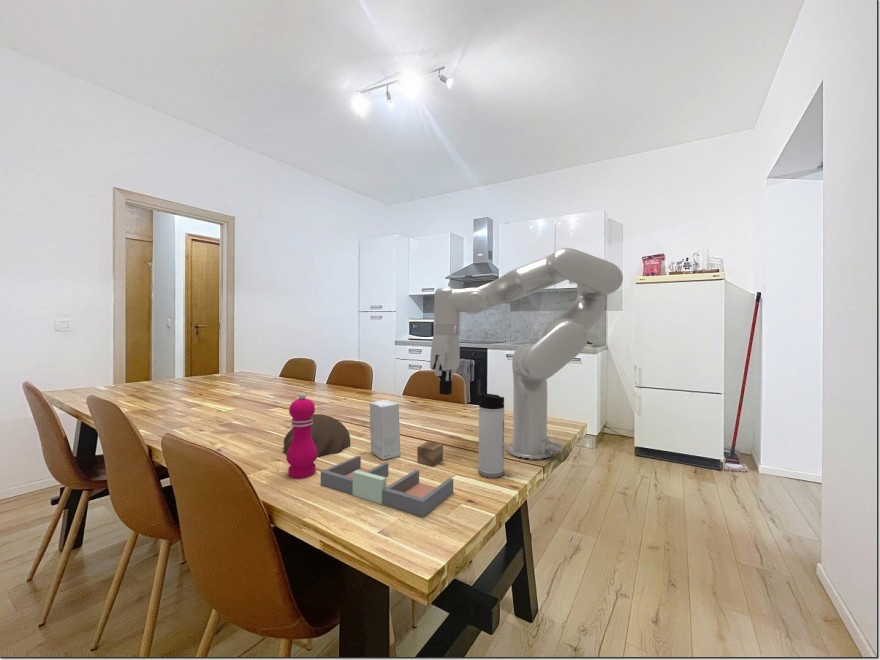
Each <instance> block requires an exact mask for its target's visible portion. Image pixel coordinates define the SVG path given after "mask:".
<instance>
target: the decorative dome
mask: <svg viewBox="0 0 880 660" xmlns="http://www.w3.org/2000/svg"><path fill="white" fill-rule="evenodd" d="M312 418H313V421H312V422H313V424H312V425H311V436H312V439H313V441H314V443H315V445H316V448H317V454H318V456H317V457H319V458H322V457H325V456H330V454H331V455H337V454H340V453H341V452H342V451H343V450H345V448H346V449H348V447H349V448H350V447H351V436H350V433H349V431H348V429H347V428H346V426H345V425H344V424H343V423H342V422H341V421H339V420H338V419H337V418H335V417H332V416H330V415H325V414H321V413H320V414H319V413H314V414H313V415H312ZM293 432H294V430H293V427H292V428H291V429H290V430H289V431H288V432H287V434H286V435H285V437H284V438H283V447H284V449H283V451H282V454H283V453H285V454H284V455H287V451H288V448H289V446H290V444H291V442H292V439H293ZM321 456H322V457H321Z"/></svg>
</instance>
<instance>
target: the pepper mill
mask: <svg viewBox="0 0 880 660" xmlns="http://www.w3.org/2000/svg"><path fill="white" fill-rule="evenodd" d="M297 396H298V399H295V400H294V401H292V403H290V405H289V408H288V413H289V416H290V417H291V418H292V419H291V424H290V425H291V426H292V428H293V430H294V432H293V439H292V442H291V444H290V446H289V448H288V451H287V454H286V457H285V459H286V462H287V464H289V465H290V466H289V467H288V468H287V469H288V471H287V472H288V477H289V478H291V479H304V477H305V478H309V477H311V476H313V475H315V474H316V463H314V462H316V461H317V459H318V458H317V456H318V454H317V448H316V445H315V443H314V441H313V439H312V436H311V425H312V424H313V422H312V421H313V418H312V415H314V414H315V412H316V406H315V403H314V401H312V400H311V399H308V398H307V395H306V392H300V393H299V394H298V395H297ZM308 476H309V477H308Z"/></svg>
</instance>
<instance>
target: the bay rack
mask: <svg viewBox="0 0 880 660" xmlns="http://www.w3.org/2000/svg"><path fill="white" fill-rule="evenodd" d="M361 457H362V456H360V455H356V456H353V457H351V458H349V459H347V460H344V461H342V462H339V463H338V464H336V465H333V466H331V467H329V468H326V469H323V470H321V471H320V486H323V487H327V488H330V489H332V490H336V491H339V492H342V493H346V494H349V495H352V496H354V497H358V498H360V499H364V500H367V501H370V502H372V503H376V504H380V505H383V506H386V507H389V508H392V509H395V510H399V511H403V512H405V513H408V514H411V515H415V516H419V517H421V518H424V517H425V516H427V515H428V514H429V513H431V512H432V510H434V509H435V508H436V507H438V506H439V505H441V503H443V502H444V501H445V500H446V499H448V498H449V496H451V495H452V494H453V493H454V478H452V477H449V478H447V479H446V480H445V481H443V482H442V483H440V484H439V485H438V486H434V485H430V484H427V483H422V482H420V470H418V469H414V470H413V471H411V472H409V473H407V474H406V475H404V476H402V477H401V478H400V479H397V480H395V482H393V483H391V484H389V485H388V486H387V477H388V476H389V462H382V463H381V464H378V465H377V466H375V467H372V469H368V468H365V467H361V465H362V463H361V459H362V458H361Z"/></svg>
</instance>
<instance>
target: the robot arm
mask: <svg viewBox="0 0 880 660" xmlns="http://www.w3.org/2000/svg"><path fill="white" fill-rule="evenodd" d="M623 275H624V274H623V273H622V270H621V269H620V268H619V266H617V265H616V264H614V263H613V262H611V261H608V260H605V259H603V258H600V257H598V256H594V255H593V254H589V253H587V252H585V251H582V250H578V249H575V248H571V247H562V248H559V249H557V250H556V251H554V252H552V253H551V254H549V255H547V256H544V257H542V258H539V259H537V260H534V261H532V262H530V263H527V264H525V265H522V266H518V267H516V268H514V269H512V270H510V271H509V272H506V273H505V274H504V275H502V276H500V277H498V278H497V279H495V280H493V281H490V282H488V283H486V284H483V285H481V286H478V287H475V286H474V287H466V288H453V287H440V288H437V289H436V290H435V292H434V303H433V304H434V306H433V307H434V310H433V315H434V316H433V317H434V318H433V337H432V341H431V347H430V348H431V349H430V360H429V367H430V370H432V371H434V375H435V376H437V377H438V380H439V395H445V396H450V395H452V394H453V393H452V391H453V380H454V374H455V373H456V372H457V369H458V368H459V366H460V362H461V361H460V360H461V355H460V353H461V351H460V349H461V347H460V346H461V345H460V335H461V334H460V333H461V331H460V330H461V325H460V324H461V313H465V314H468V315H471V316H472V315H474V316H475V315H477V314H480V313H483V312H485V311H487V310H489V309H492V308H495V307H497V306H499V305H503V304H505V303H508V302H511V301H515V300H520V299H521V298H525V297H526V296H529V295H532V294H535V293H536V292H540V291H542V290H544V289H547V288H550V287H552V286H555V285H557V284H561V283H562V282H564V281H567V280H568V281H569V282H572V283H575V284H576V290H577V291H576V292H577V296H576V299H575V301H574V302H573V303H572V304H571V306H569V307H568V308H567V309H566V310H565V311H563V313H561V314H560V315H559V316H557V318H555V319H554V320H553V321H551V322H550V323H549V324H548V325H546V327H545V328H544V329H543V332H542V335H541V338H539V340H537V341H536V342H535V343H531V342H530V343H529V342H527V343H524V344H521V345H520V346H518V347H517V348H516V350H514V353H513V355H512V360H511V361H512V362H511V365H512V366H511V367H512V378H513V379H512V380H513V407H512V408H513V409H512V410H513V414H512V415H513V416H512V417H513V422H512V423H513V424H512V427H513V428H512V429H513V430H512V431H513V432H512V436H513V437H512V438H513V439H512V440H513V441H512V443H510V444H509V445H507V452H508V453H509V454H510V455H511V456H513V457H516V456H517V457H516V458H519V457H522V458H521V459H524V458H529V459H528V460H533V459H538V460H543V459H542V458H546V459H548V458H547V457H549V458H551V457H552V456H553V452H555V453H560V454H562V452H563V445H561V443H559V442H558V443H557V442H552V441H550V438H551V437H550V436H548V382H547V380H548V379H550V378H551V377H553V376H554V375H556V373H558V372H559V371H560V370H562V369H563V368H564V367H565V366H566V365H567V364H569V363H570V362H571V361H572V360H573V359H575V358H576V357H577V356H578V355H579V354H580V353H581V352H582V351H583V350H584V349H585V347H586V345H587V343H588V339H589V335H588V332H589V331H590V330H591V329H593V327H594V326H595V325H597V323H598V322H599V321H600V320H601V318H602V317H603V314H604V311H605V307H606V296H607V295H611V294H614V293H615V292H617V291H618V290H619V289H620V287H621V286H622V284H623V280H624V277H623ZM551 455H552V456H551Z"/></svg>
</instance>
